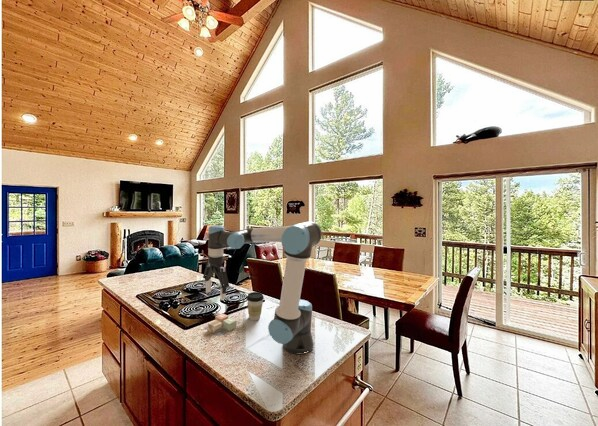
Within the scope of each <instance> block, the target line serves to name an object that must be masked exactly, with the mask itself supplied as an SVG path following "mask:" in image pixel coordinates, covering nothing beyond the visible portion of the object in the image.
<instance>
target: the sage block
mask: <svg viewBox="0 0 598 426" xmlns="http://www.w3.org/2000/svg"><path fill="white" fill-rule="evenodd" d="M237 321H238V320H237V319H234V318H232V317H231V316H230V317H228V319H226V320H224V321H223V328H225V329H227V330H228V332H229V331H230V332H231V331H232V330H234V329H236V328H237Z"/></svg>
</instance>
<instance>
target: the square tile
mask: <svg viewBox="0 0 598 426" xmlns="http://www.w3.org/2000/svg"><path fill="white" fill-rule="evenodd" d="M204 329H206V330H207V331H209V330H208V325H207V326H205V327H204ZM209 332H210V331H209ZM228 332H229V331H228V330H227V329H225V328H223V325H222V330H221V331H219V332H217V333H215V334H214V335H215V336H216V337H221V336H222V335H224V334H226V333H228Z"/></svg>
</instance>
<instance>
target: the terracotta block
mask: <svg viewBox="0 0 598 426" xmlns="http://www.w3.org/2000/svg"><path fill="white" fill-rule="evenodd" d="M214 317H215V318H214V319H215V320H217V321H219V322H221V323H222V325H223V321H224V320H226V319H228V318H229V315H227V314H225V313H223V312H221V313H219V314H218V315H216V316H214Z"/></svg>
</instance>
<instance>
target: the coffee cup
mask: <svg viewBox="0 0 598 426" xmlns="http://www.w3.org/2000/svg"><path fill="white" fill-rule="evenodd" d="M264 299H265V297H264V295H263V293H261V292H260V291H253V292H250V293H248V294H247V296H246V300H247V301H246V302H247V304H246V305H247V312H248V319H249V320H250V321H258V320H260V319H261V314H262V308H263V304H264V303H263V301H264Z"/></svg>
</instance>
